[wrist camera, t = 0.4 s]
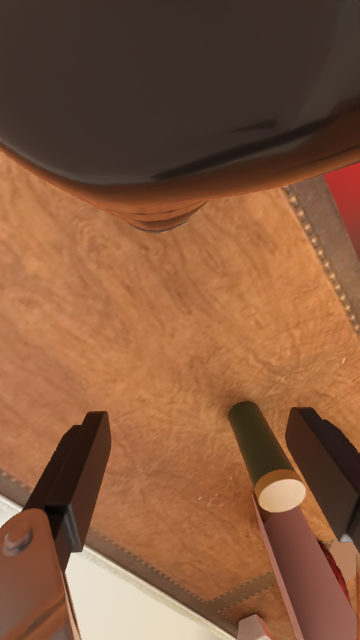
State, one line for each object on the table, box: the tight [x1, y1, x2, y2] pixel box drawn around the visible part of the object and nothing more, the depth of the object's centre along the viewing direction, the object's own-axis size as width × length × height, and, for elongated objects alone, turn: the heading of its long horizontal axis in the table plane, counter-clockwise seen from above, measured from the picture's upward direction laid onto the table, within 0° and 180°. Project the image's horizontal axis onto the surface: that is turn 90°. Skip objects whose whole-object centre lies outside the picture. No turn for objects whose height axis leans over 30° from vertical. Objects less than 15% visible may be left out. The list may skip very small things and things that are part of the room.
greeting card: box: [251, 491, 357, 640], centre depth 33 cm, size 11×7×15 cm, turn 160°
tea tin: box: [229, 402, 306, 513], centre depth 27 cm, size 5×5×11 cm
